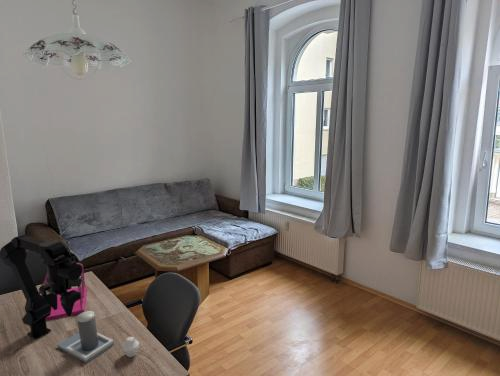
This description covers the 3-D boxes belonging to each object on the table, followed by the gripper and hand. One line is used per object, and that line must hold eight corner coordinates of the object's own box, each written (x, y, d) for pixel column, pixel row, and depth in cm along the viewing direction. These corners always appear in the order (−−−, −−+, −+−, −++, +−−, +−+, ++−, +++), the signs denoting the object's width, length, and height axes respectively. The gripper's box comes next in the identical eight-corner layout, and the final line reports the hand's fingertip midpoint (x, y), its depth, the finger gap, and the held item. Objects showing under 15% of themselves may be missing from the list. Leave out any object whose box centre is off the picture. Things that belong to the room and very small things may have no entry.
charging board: (57, 347, 136) (56, 342, 136) (85, 330, 146) (85, 326, 146) (86, 363, 127) (85, 358, 127) (114, 344, 137) (113, 340, 137)
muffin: (135, 346, 136) (133, 330, 134) (142, 354, 131) (141, 337, 130) (119, 354, 132) (118, 337, 130) (126, 362, 127) (125, 345, 126)
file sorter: (87, 288, 183) (83, 260, 180) (84, 313, 160) (80, 281, 157) (49, 295, 177) (44, 266, 173) (40, 322, 154) (35, 289, 151)
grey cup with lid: (79, 345, 135) (75, 315, 133) (95, 339, 139) (91, 309, 137) (83, 353, 131) (79, 321, 128) (100, 346, 135) (96, 315, 132)
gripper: (91, 272, 135) (96, 309, 138) (63, 262, 145) (68, 297, 148) (63, 284, 126) (69, 323, 129) (35, 273, 135) (41, 310, 139)
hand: (62, 312), depth 136 cm, fingers open, 9 cm apart
